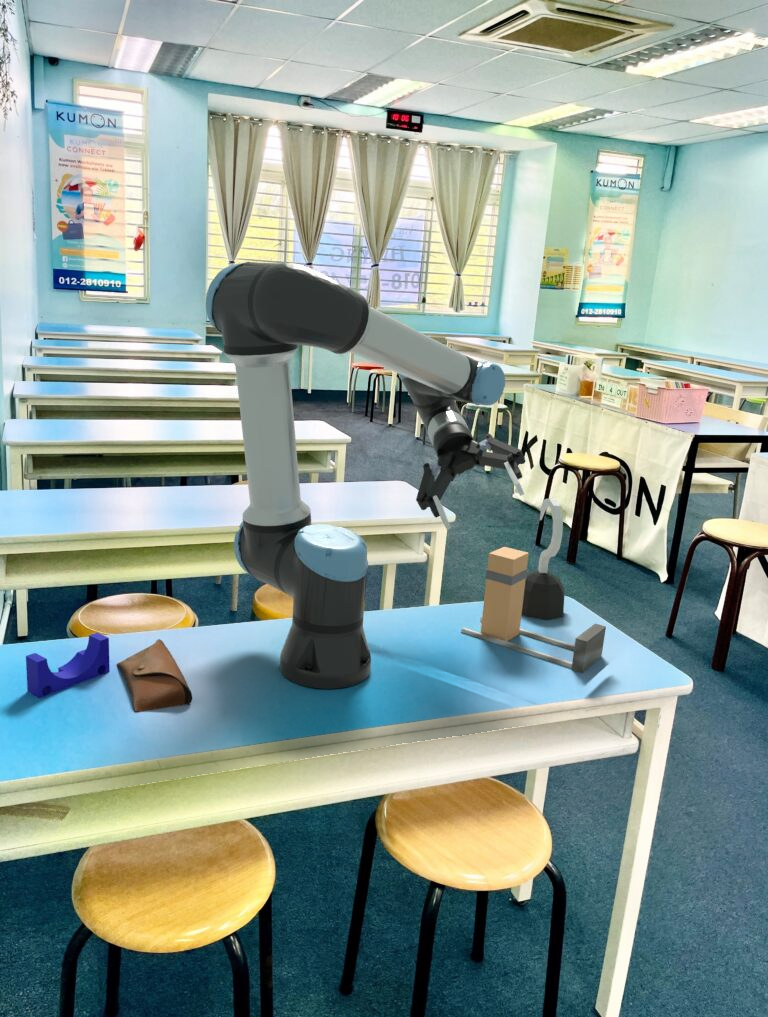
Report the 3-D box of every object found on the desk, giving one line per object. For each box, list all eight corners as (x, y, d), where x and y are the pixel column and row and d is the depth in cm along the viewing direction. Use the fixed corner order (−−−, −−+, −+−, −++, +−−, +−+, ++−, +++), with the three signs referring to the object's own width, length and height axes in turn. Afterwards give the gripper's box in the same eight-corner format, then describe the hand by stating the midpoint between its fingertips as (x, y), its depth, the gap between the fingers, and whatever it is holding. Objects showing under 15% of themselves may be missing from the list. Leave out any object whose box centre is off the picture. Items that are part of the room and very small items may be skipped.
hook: (504, 606, 164) (517, 491, 158) (554, 607, 165) (569, 493, 159) (520, 627, 153) (534, 504, 147) (573, 628, 154) (590, 506, 148)
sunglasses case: (112, 662, 126) (133, 626, 127) (150, 676, 130) (170, 642, 130) (134, 714, 111) (158, 673, 111) (176, 728, 115) (200, 689, 115)
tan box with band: (479, 635, 144) (488, 553, 140) (495, 626, 149) (504, 546, 145) (504, 643, 141) (514, 559, 137) (519, 633, 146) (529, 552, 142)
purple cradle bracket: (92, 664, 126) (91, 629, 124) (109, 672, 123) (108, 637, 122) (22, 689, 116) (20, 652, 115) (39, 699, 114) (37, 662, 112)
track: (459, 640, 145) (462, 603, 143) (482, 626, 152) (486, 591, 150) (581, 680, 132) (586, 641, 130) (600, 664, 139) (605, 626, 137)
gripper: (518, 425, 148) (557, 490, 131) (400, 481, 151) (424, 552, 134) (505, 395, 143) (544, 458, 127) (384, 454, 146) (407, 523, 130)
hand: (482, 506), depth 130 cm, fingers open, 13 cm apart
